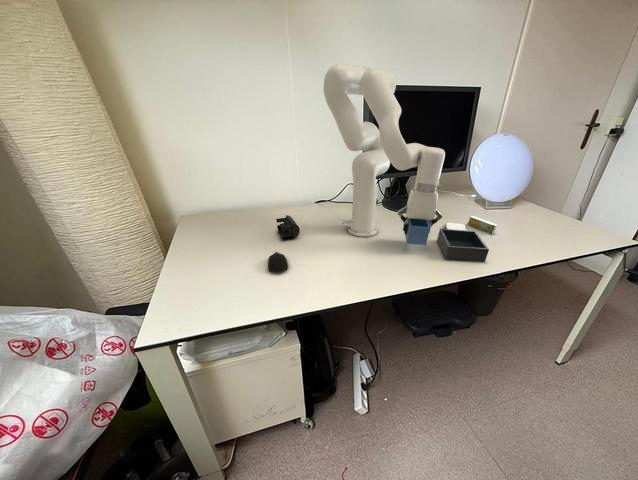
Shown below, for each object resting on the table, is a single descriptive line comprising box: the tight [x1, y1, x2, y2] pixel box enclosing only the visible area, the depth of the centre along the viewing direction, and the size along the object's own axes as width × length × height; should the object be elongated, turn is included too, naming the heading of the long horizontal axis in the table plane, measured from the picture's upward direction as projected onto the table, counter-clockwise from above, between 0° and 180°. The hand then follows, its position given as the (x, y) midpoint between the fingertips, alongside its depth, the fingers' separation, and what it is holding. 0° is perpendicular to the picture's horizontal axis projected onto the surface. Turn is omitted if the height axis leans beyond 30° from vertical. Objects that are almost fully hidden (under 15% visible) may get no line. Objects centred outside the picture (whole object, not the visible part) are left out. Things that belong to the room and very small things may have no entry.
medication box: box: [467, 215, 498, 235], centre depth 123 cm, size 12×3×4 cm, turn 38°
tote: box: [436, 228, 490, 263], centre depth 105 cm, size 14×16×5 cm
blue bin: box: [404, 219, 431, 246], centre depth 103 cm, size 7×11×7 cm, turn 175°
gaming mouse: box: [267, 251, 289, 274], centre depth 93 cm, size 6×15×4 cm, turn 16°
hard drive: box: [444, 222, 467, 230], centre depth 120 cm, size 2×8×12 cm
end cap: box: [275, 214, 301, 242], centre depth 111 cm, size 10×7×7 cm
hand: (415, 233), depth 104 cm, fingers closed on blue bin, 7 cm apart
